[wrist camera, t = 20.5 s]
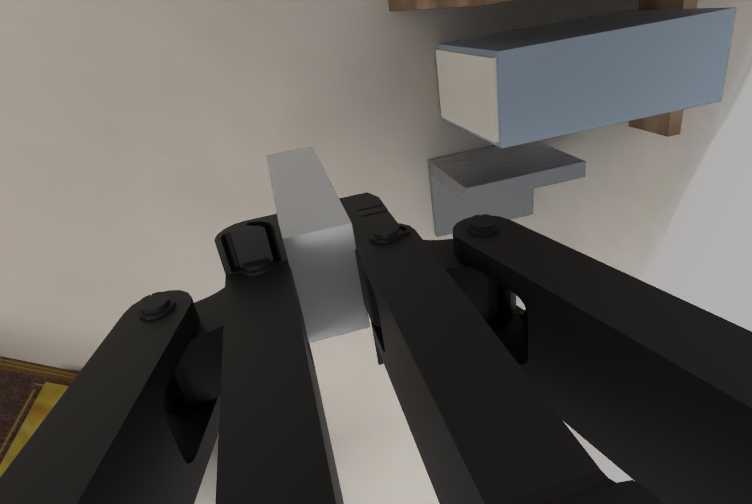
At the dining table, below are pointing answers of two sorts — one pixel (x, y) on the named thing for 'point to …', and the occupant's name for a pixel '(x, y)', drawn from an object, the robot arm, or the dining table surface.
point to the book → (26, 402)
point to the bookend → (495, 181)
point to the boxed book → (584, 73)
